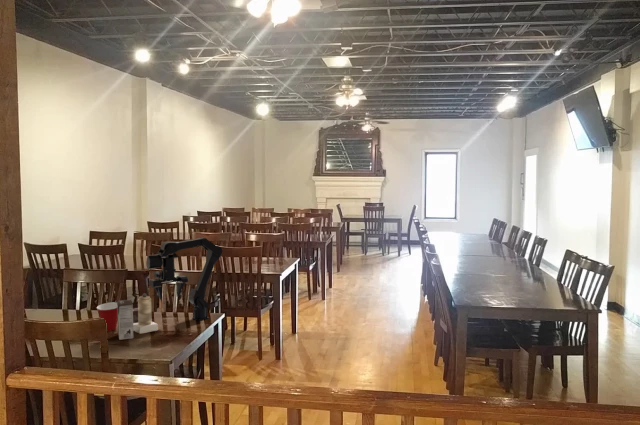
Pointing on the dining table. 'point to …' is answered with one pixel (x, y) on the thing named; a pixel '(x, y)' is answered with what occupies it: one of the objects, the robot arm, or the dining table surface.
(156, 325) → the stand
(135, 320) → the box
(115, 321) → the plastic cup
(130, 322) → the coffee box
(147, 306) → the pepper mill
